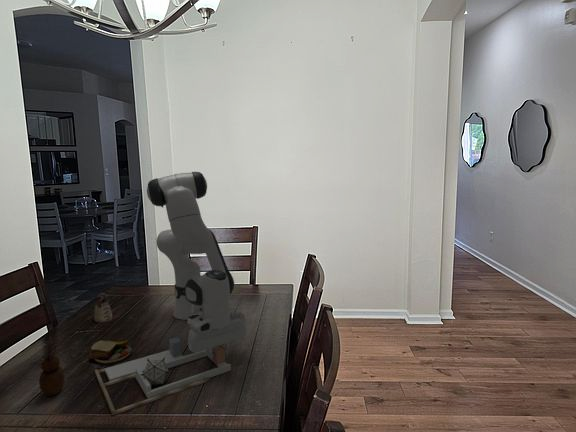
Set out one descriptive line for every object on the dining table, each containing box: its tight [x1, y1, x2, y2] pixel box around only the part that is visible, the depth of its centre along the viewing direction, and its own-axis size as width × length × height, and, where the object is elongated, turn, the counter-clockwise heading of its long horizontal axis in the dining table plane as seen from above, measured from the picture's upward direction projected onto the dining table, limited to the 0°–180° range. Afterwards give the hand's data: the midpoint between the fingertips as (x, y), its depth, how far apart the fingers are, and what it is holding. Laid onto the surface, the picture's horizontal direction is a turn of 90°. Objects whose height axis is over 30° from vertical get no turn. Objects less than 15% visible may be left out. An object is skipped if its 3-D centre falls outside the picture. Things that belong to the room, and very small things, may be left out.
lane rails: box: [94, 349, 210, 416], centre depth 125 cm, size 29×26×1 cm
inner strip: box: [104, 336, 184, 382], centre depth 131 cm, size 24×8×6 cm, turn 126°
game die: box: [141, 357, 172, 386], centre depth 121 cm, size 9×8×10 cm
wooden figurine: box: [38, 342, 66, 397], centre depth 116 cm, size 7×6×15 cm
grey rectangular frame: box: [134, 345, 232, 399], centre depth 127 cm, size 27×14×5 cm, turn 126°
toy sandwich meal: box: [88, 340, 133, 365], centre depth 139 cm, size 12×14×5 cm
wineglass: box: [187, 312, 202, 329], centre depth 145 cm, size 7×7×12 cm
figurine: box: [93, 292, 113, 324], centre depth 169 cm, size 7×7×12 cm
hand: (218, 356), depth 134 cm, fingers open, 3 cm apart
